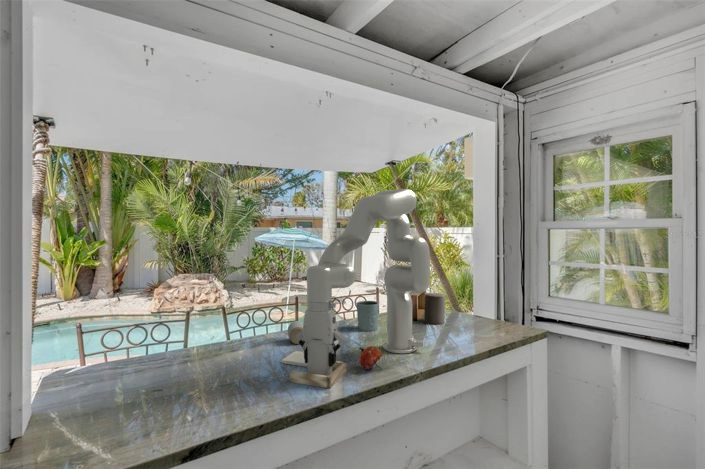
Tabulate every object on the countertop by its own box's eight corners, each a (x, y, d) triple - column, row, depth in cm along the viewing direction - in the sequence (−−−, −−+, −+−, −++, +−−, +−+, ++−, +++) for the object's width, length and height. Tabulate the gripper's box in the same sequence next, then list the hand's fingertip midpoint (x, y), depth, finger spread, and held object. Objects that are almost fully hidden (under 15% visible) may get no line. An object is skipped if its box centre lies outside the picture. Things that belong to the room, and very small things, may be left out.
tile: (320, 356, 131) (320, 354, 131) (307, 366, 122) (307, 363, 122) (295, 353, 134) (295, 350, 134) (281, 362, 125) (281, 360, 125)
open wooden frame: (346, 371, 117) (346, 362, 117) (329, 388, 105) (329, 377, 105) (309, 366, 122) (309, 357, 122) (289, 381, 110) (289, 371, 110)
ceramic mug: (289, 345, 143) (289, 326, 143) (287, 339, 151) (287, 321, 151) (316, 344, 146) (316, 324, 146) (313, 338, 154) (313, 319, 154)
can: (308, 371, 117) (307, 333, 117) (331, 370, 118) (331, 333, 118) (307, 381, 110) (306, 341, 109) (332, 380, 110) (332, 340, 110)
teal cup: (379, 332, 163) (379, 304, 163) (356, 331, 163) (356, 304, 163) (377, 326, 173) (377, 300, 173) (356, 325, 173) (356, 300, 173)
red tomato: (383, 372, 123) (362, 350, 127) (393, 358, 119) (372, 336, 124) (370, 382, 117) (349, 358, 121) (381, 367, 113) (359, 343, 118)
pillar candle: (424, 324, 176) (425, 292, 176) (424, 319, 186) (424, 289, 186) (445, 325, 175) (446, 293, 174) (443, 320, 184) (444, 290, 184)
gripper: (350, 305, 114) (350, 362, 114) (300, 301, 120) (300, 356, 120) (341, 310, 107) (341, 371, 107) (288, 306, 113) (288, 364, 113)
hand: (319, 363), depth 114 cm, fingers closed on can, 7 cm apart
